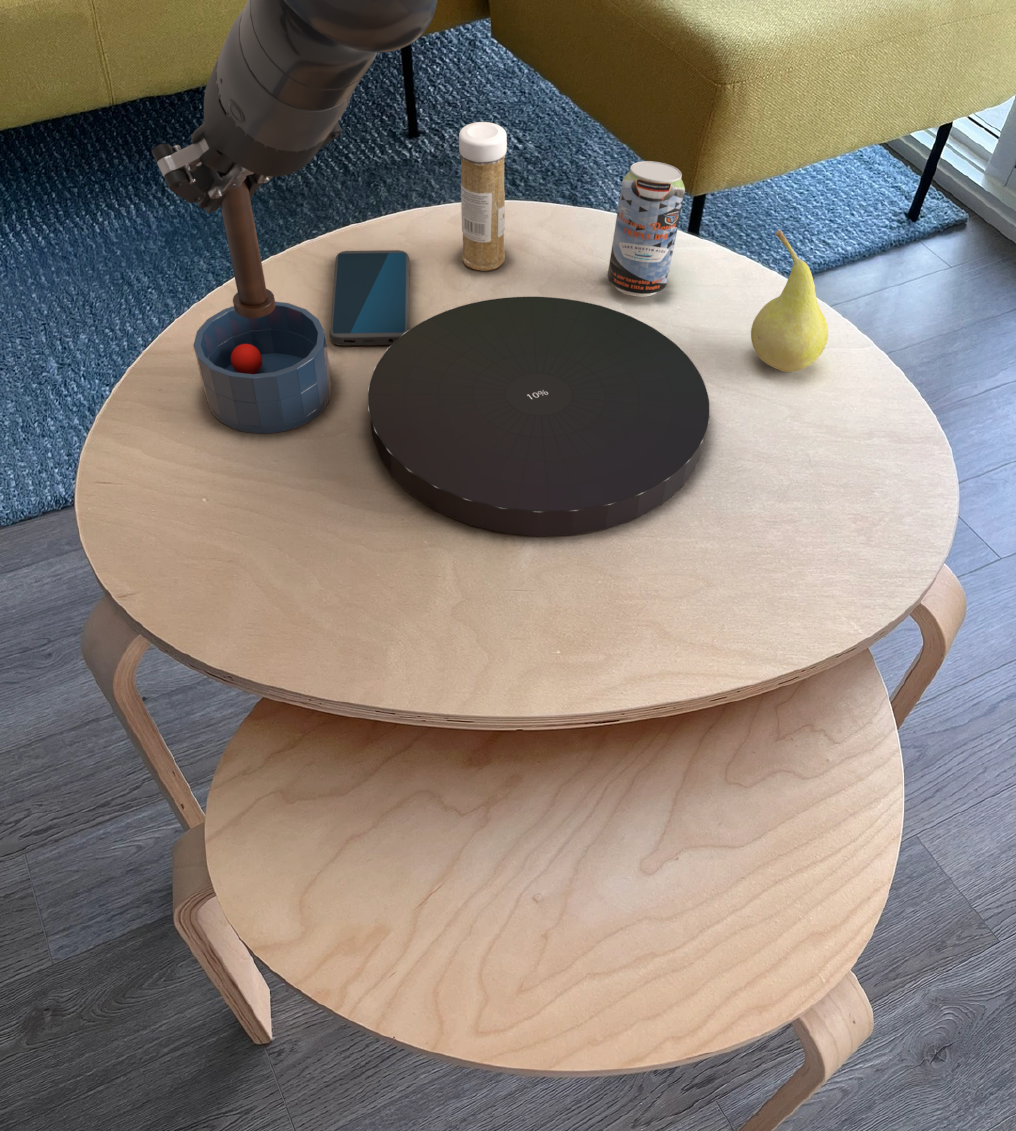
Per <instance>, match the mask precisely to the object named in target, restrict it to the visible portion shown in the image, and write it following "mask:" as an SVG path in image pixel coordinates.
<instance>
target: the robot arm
mask: <svg viewBox="0 0 1016 1131" xmlns="http://www.w3.org/2000/svg"><path fill="white" fill-rule="evenodd" d="M438 3H439V0H247V1H246V4H245V5H244V8H243V9H242V10H241V11H240V13H239V14H238V16H237V17H236V18H235V19H234V22H233V23H232V25H231V27H230V29H229V31H228V32H227V36H226V37H225V40H224V42H223V45H222V47H221V49H220V52H219V55H218V57H217V58H216V62H215V63H214V67H213V68H212V71H211V74H210V76H209V78H208V80H207V84H206V86H205V91H204V96H203V123H202V124H201V125H200V126H198V127H197V128H196V129H195V130H194V131H193V132H192V135H191V141H190V142H191V144H189V145H187V146H185V147H183V148H181V145H179V144H175V145H173V146H172V145H170V143H161V144H157V145H156V146H155V147H154V148H153V149H152V150H151V153H152V155H153V158H154V159H155V162H156V164H157V166H158V169H159V171H160V173H161V174H162V177H163V178H164V180H165V183H166V184H167V187H168V188H169V190H170V191H171V192H173V193H174V194H176V195H177V196H178V197H180V198H182V199H183V200H185V201H186V202H187V203H188V204H194V203H195V204H197V206H198V208H199V209H200V210H202V209H204V211H205V212H206V213H207V214H211V213H214V212H216V211H218V209H219V208H220V204H221V202H222V201H223V199H224V197H225V195H226V192H227V191H228V190H230V189H234V188H237V187H239V186H240V185H241V184H242V182H243V181H244V180H245V178H247V184H248V189H249V195H250V200H252V198H253V196H254V195H255V193H256V192H257V190H258V189H259V188H260V187H261V185H262V184H267V183H269V182H270V180H272V179H273V177H275V178H276V177H285V176H289V175H293V174H294V173H297V172H298V171H300V170H302V169H304V168H305V167H306V166H308V164H309V163H310V162H311V161H312V160H313V159H314V157H315V155H316V154H317V153H318V152H319V151H320V150H321V149H323V148H324V147H326V145H327V146H328V144H330V142H332V141H333V140H335V139H337V138H338V137H339V136H340V135H341V134H342V133H343V129H342V128H341V125H340V122H339V121H340V120H341V118H342V117H343V115H344V113H345V112H346V110H347V108H348V106H349V104H350V101H351V99H352V96H353V93H354V91H355V90H356V88H357V87H358V86H359V84H360V82H361V81H362V79H363V78H364V76H366V74H367V72H368V70H369V69H370V67H371V66H372V64H373V63H374V61H375V59H376V57H377V55H378V53H390V52H394V51H397V50H400V49H403V48H406V47H408V46H410V45H411V44H413V43H415V41H417V40H418V39H419V38H420V37H421V36H422V35H423V34H424V33H425V32H426V31H427V29H428V28H429V26H430V25H431V22H432V21H433V18H434V16H435V14H436V11H437V7H438Z"/></svg>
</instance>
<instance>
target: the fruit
mask: <svg viewBox="0 0 1016 1131" xmlns="http://www.w3.org/2000/svg"><path fill="white" fill-rule="evenodd" d="M774 235H775V236H776V237H777V238H778V240H779V241H780V242H781V243H782V245H784V246H785V248H786V249H787V251H788V253H789V254H790V257H791V260H792V267H791V271H790V274H789V276H788V278H787V280H786V283H785V285H784V287H783V289H782V291H781V293H780V295H778V296H777V297H775V298H773V299H771V300H770V301H768V302H767V303H766V304H765V305H763V307H762V308H761V309H760V310H759V312H757V315H756V316H755V317H754V320H753V322H752V325H751V329H750V340H751V344H752V348H753V350H754V352H755V354H756V355H757V357H758V358H759V359H760V360H761V361H763V363H764V364H766V365H768V366H770V367H772V368H774V369H776V370H777V371H781V372H784V373H792V372H793V373H794V372H798V371H801V370H803V369H806V368H807V367H809V366H810V365H812V364H813V363H814V362H816V360H817V359H818V358H819V357H820V356H821V355H822V353H823V352H824V350H825V348H826V345H827V343H828V340H829V339H828V338H829V326H828V322H827V319H826V316H825V315H824V313H823V312H822V310H821V307H820V306H819V302H818V299H817V294H816V285H815V282H814V278H813V277H814V276H813V274H812V271H811V269H810V267H809V265H808V264H807V263H806V261H804V260H803V259H801V258H799V257H798V255H797V254H796V252H795V250H794V249H793V247H792V245H791V244H790V243H789V241H788V239H787V237H786V236H785V235H784V233H783V231H782V230H781V229H777V231H775V233H774Z"/></svg>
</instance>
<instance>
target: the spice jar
mask: <svg viewBox="0 0 1016 1131" xmlns="http://www.w3.org/2000/svg"><path fill="white" fill-rule="evenodd" d="M507 141H508V138H507V131H506V130H505V129H504V128H503V127H502V126H500V125H499V124H497V123H493V122H488V121H476V122H472V123H469V124H467V125H465V126H463V127H462V128H461V129H460V131H459V132H458V151H459V155H460V159H461V160H460V161H461V162H460V171H461V172H460V173H461V174H460V175H461V180H460V202H461V203H460V204H461V233H462V254H461V259H462V262H463V263H464V265H465V266H467V267H468V268H469V269H473V270H476V271H492V270H496V269H498V268H499V267H500V266H502V264H504V262H505V260H506V253H505V229H506V224H505V223H506V221H505V220H506V214H505V212H506V211H505V210H506V196H505V195H506V194H505V192H506V191H505V159H506V155H507V150H508V147H507V146H508V144H507V143H508V142H507Z"/></svg>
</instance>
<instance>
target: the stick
mask: <svg viewBox="0 0 1016 1131" xmlns="http://www.w3.org/2000/svg"><path fill="white" fill-rule="evenodd" d="M219 208H220V211H221V216H222V221H223V226H224V231H225V235H226V236H225V237H226V241H227V247H228V251H229V256H230V257H229V258H230V261H231V267H232V270H233V276H234V281H235V284H236V285H235V287H236V291H237V292H236V293H235V294H234V295H233V298H232V304H233V306H234V309H235V312H236V313H237V314H238V315H240V316H242V317H245V318H260V317H264V316H266V315H268V314H270V313H271V312H272V311H273V310H274V309H275V305H276V304H275V302H276V298H275V295H274V293H273V291H271V289H268V288H267V286H266V285H267V284H266V280H265V273H264V268H263V263H262V258H261V251H260V245H259V241H258V235H257V229H256V224H255V218H254V213H253V207H252V201H251V199H250V195H249V189H248V184H247V178H245V180H244V181H243V182H242V184H241V185H240V186H239V187H237V188H234V189H230V190H228V191H227V192H226V195H225V197H224V199H223V201H222V202H221V204H220V206H219Z"/></svg>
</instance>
